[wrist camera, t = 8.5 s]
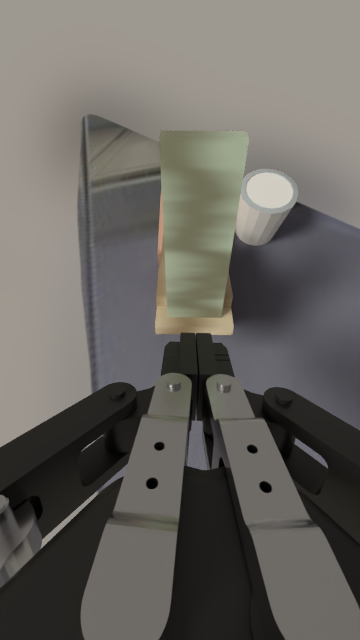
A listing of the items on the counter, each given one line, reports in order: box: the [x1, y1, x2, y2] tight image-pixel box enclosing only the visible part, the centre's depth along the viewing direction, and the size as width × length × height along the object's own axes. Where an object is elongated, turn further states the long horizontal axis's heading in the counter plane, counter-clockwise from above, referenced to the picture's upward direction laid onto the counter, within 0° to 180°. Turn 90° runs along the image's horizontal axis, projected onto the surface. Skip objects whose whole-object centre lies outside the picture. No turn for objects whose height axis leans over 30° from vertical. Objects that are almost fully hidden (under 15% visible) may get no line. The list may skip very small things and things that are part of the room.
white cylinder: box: [235, 169, 298, 246], centre depth 35 cm, size 7×7×7 cm
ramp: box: [155, 131, 249, 335], centre depth 22 cm, size 6×14×13 cm, turn 179°
